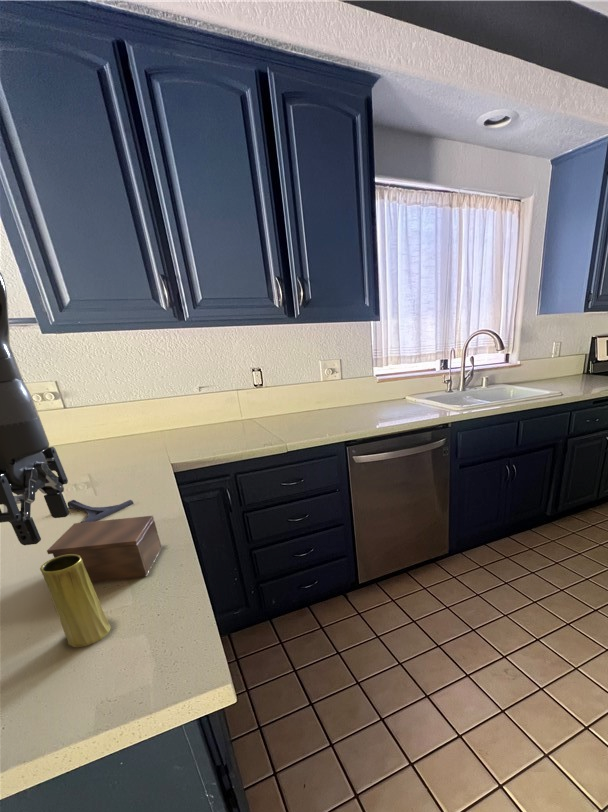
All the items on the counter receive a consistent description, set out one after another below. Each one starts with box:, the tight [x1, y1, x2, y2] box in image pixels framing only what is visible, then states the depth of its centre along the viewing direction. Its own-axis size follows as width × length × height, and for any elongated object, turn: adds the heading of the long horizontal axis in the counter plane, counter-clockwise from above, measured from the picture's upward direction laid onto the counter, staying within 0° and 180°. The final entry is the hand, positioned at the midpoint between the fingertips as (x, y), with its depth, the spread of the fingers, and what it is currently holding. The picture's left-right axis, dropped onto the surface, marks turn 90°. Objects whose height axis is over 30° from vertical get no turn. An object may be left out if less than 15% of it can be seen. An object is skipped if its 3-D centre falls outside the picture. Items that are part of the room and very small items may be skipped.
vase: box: [39, 554, 112, 648], centre depth 67 cm, size 6×6×14 cm
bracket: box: [67, 499, 134, 523], centre depth 114 cm, size 14×15×3 cm
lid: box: [46, 515, 155, 555], centre depth 86 cm, size 15×12×1 cm
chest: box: [52, 519, 163, 584], centre depth 88 cm, size 15×12×8 cm
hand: (47, 529), depth 62 cm, fingers open, 8 cm apart
